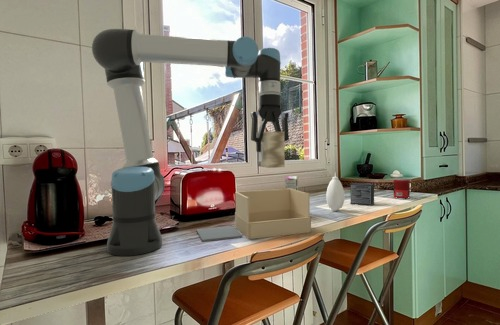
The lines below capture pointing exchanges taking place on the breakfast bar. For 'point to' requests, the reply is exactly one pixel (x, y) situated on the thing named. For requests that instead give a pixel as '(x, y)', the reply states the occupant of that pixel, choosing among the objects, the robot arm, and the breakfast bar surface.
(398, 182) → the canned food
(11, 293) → the breakfast bar surface
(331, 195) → the air blower bulb
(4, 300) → the breakfast bar surface
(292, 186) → the candy bar box
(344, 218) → the breakfast bar surface
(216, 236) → the mat
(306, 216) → the carton
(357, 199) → the small box
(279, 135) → the box
